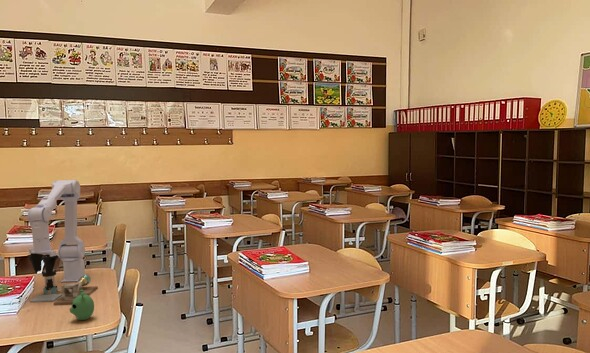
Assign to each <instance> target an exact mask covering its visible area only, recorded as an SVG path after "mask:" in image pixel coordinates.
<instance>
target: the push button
mask: <svg viewBox="0 0 590 353" xmlns="http://www.w3.org/2000/svg"><path fill="white" fill-rule="evenodd" d="M41 274H42V277H43V279H44V286H43V287H44V288H43V295H47V294H58V293H59V292H60V290H62V289H61V288H58V285H56V280H55V276H56V274H57V269H55V268H54V269H53V273H52V274H46V270H45V268H44V269H43V271H41Z"/></svg>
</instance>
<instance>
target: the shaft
mask: <svg viewBox="0 0 590 353" xmlns="http://www.w3.org/2000/svg"><path fill="white" fill-rule="evenodd" d="M91 281H92V280H91V277H90V276H89V275H88V274H87V275H83V276H82V277H80V279H79V280H78V281H75V283H74V284H79V288H80V287H87V285H89V284H90V283H91ZM67 293H68V294H72V293H73V288H68V289H67Z"/></svg>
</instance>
